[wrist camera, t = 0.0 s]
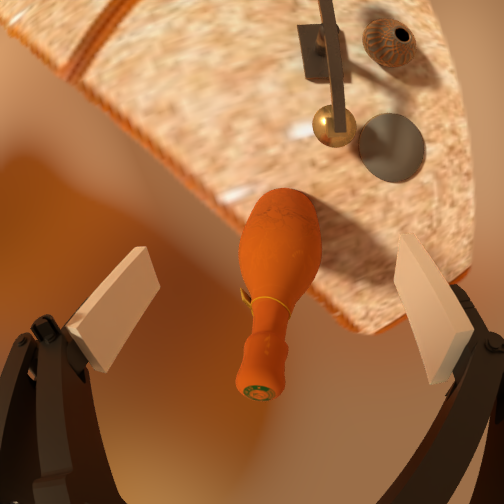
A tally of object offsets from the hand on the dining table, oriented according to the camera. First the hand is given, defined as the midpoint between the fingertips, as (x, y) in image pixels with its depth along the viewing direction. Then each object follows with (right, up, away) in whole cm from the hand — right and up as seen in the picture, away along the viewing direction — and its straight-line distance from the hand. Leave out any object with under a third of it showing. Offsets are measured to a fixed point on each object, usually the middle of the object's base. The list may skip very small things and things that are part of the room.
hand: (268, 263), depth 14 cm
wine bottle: (+4, +6, +29) cm, 30 cm away
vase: (+17, +29, +13) cm, 36 cm away
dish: (+19, +15, +20) cm, 32 cm away
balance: (+8, +27, +16) cm, 32 cm away
